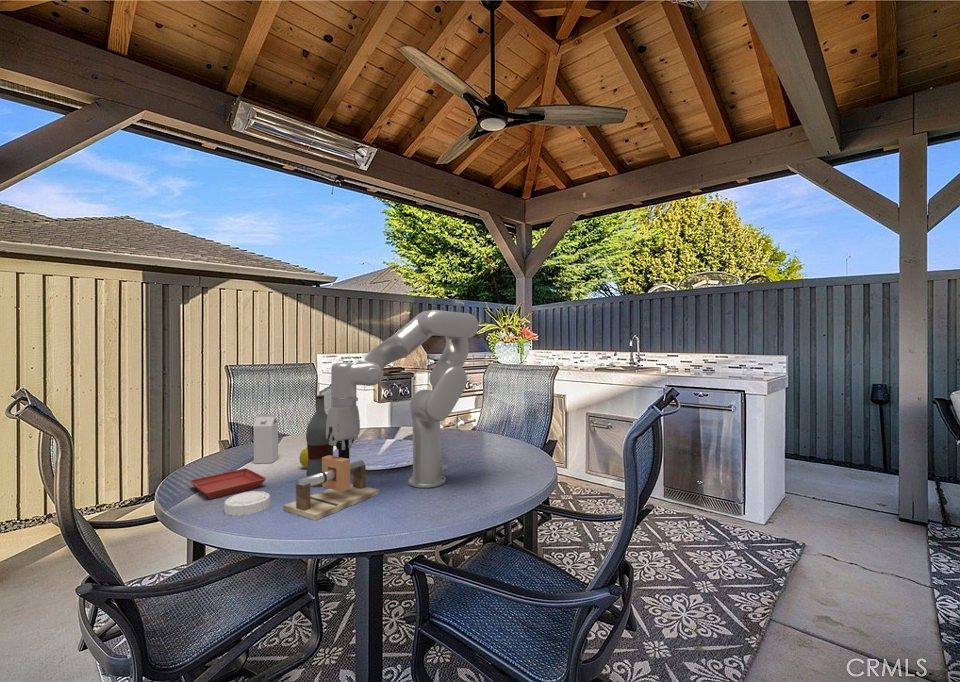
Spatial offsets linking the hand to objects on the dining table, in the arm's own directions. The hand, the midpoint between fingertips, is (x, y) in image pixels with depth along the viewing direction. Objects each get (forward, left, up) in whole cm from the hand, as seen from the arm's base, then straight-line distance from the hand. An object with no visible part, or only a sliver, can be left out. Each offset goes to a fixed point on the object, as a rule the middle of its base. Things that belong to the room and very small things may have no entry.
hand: (343, 461), depth 140 cm
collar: (+3, 0, -7) cm, 8 cm away
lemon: (-15, -37, -11) cm, 41 cm away
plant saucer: (+13, -41, -12) cm, 45 cm away
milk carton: (-13, -60, -11) cm, 62 cm away
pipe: (+4, 0, -4) cm, 6 cm away
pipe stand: (+4, 0, -11) cm, 12 cm away
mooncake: (+20, -18, -12) cm, 30 cm away
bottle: (-6, -18, -11) cm, 22 cm away
